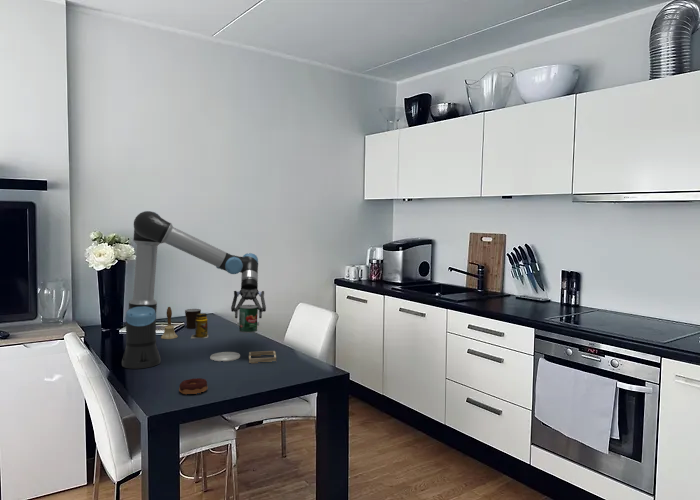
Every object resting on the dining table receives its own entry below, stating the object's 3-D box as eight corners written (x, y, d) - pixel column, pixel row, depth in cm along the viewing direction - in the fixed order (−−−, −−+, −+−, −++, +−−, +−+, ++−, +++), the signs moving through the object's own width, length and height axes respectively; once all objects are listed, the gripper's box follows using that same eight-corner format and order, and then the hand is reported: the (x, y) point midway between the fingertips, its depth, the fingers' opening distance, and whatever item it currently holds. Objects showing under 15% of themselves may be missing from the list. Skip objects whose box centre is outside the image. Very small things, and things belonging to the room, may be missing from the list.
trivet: (231, 362, 216) (231, 360, 216) (204, 360, 219) (204, 358, 219) (245, 354, 228) (245, 353, 228) (219, 352, 231) (219, 350, 231)
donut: (172, 394, 178) (172, 383, 177) (190, 385, 187) (190, 375, 186) (196, 398, 174) (196, 386, 174) (213, 389, 183) (213, 378, 183)
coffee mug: (198, 329, 277) (198, 311, 276) (182, 329, 277) (182, 311, 277) (204, 325, 289) (204, 307, 288) (189, 324, 289) (189, 307, 288)
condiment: (207, 338, 258) (207, 315, 258) (190, 338, 257) (190, 315, 256) (208, 334, 266) (208, 312, 265) (191, 335, 264) (191, 312, 263)
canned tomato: (252, 333, 217) (253, 308, 216) (236, 332, 219) (236, 307, 218) (260, 329, 225) (260, 305, 224) (243, 328, 227) (244, 304, 226)
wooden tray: (276, 362, 217) (276, 357, 217) (249, 363, 215) (249, 359, 215) (275, 355, 228) (275, 350, 228) (249, 356, 226) (249, 351, 226)
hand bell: (180, 337, 259) (180, 306, 258) (165, 340, 253) (165, 308, 252) (172, 334, 264) (172, 304, 263) (157, 337, 258) (157, 306, 257)
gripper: (271, 287, 238) (271, 328, 223) (227, 287, 234) (224, 328, 219) (272, 277, 232) (272, 319, 217) (226, 277, 228) (223, 319, 214)
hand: (248, 323), depth 218 cm, fingers closed on canned tomato, 8 cm apart
